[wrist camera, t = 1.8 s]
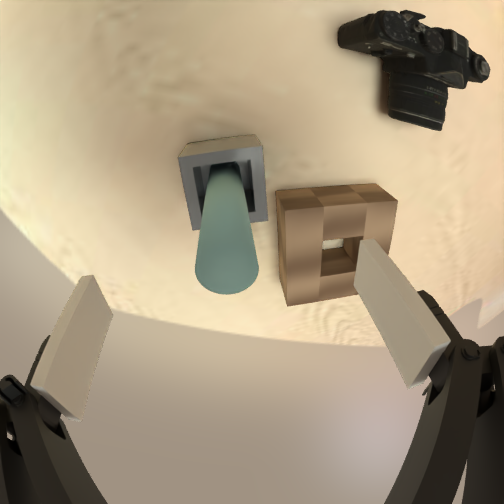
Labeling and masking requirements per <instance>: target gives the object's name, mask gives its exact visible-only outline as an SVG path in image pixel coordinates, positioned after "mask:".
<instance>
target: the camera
mask: <svg viewBox="0 0 504 504" xmlns="http://www.w3.org/2000/svg"><path fill="white" fill-rule="evenodd" d="M425 17H426V16H425V15H423V14H420V13H416V12H412V11H408V10H404V11H401V12H400V14H399V13H398V12H396V11H385V10H382V11H378V12H377V13H375V14H368V15H366V16H364V17H361V18H359V19H356V20H354V21H351V22H348V23H346V24H344V25H342V26H341V27H340V29H339V32H338V44H339V46H340V47H341V48H345V49H350V50H354V51H358V52H363V53H367V54H371V55H372V56H376V57H380V58H382V59H383V60H384V65H383V71H384V72H388V73H390V78H389V98H388V115H389V117H391V118H393V119H397V120H400V121H404V122H407V123H411V124H414V125H418V126H421V127H425V128H429V129H432V130H437V131H441V130H442V126H443V123H444V121H445V108H446V105H447V99H448V89H447V88H448V87H452V88H458V89H464V88H466V85H467V82H468V81H471V82H478V83H483V81H485V80H487V79H488V77H489V73H490V67H489V64H488V63H487V62H486V60H485V58H484V57H483V56H482V55H480V54H476V53H475V52H473V51H472V50H471V49H470V47H469V44H468V40H467V39H466V38H465V37H464V36H462V35H460V34H458V33H457V32H455V31H454V30H452V29H445V30H444V29H442V28H439V27H434V28H430V27H428V26H426V25H424V24H422V23H420V22H419V21H418V20H419V19H423V18H425Z"/></svg>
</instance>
